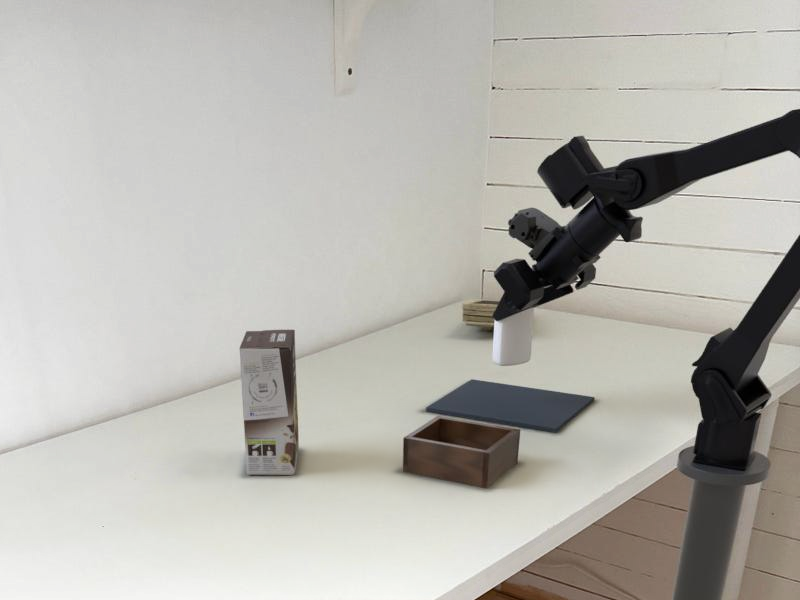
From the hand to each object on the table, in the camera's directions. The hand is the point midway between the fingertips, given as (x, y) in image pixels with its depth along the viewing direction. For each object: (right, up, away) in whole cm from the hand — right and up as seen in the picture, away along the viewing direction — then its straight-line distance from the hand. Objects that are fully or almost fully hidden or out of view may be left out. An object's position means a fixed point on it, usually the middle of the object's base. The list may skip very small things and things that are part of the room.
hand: (506, 314), depth 140 cm
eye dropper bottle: (+1, -6, +3) cm, 7 cm away
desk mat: (+2, -11, +7) cm, 13 cm away
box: (+6, +13, +48) cm, 50 cm away
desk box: (-8, -24, -14) cm, 29 cm away
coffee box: (-32, -23, -11) cm, 41 cm away
